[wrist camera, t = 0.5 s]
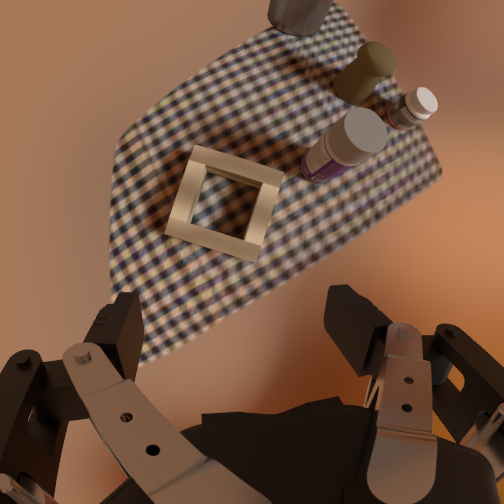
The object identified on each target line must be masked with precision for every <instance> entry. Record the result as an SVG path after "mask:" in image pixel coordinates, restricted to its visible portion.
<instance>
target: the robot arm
mask: <svg viewBox="0 0 504 504" xmlns="http://www.w3.org/2000/svg"><path fill="white" fill-rule="evenodd" d="M333 1H334V0H270V5H269V10H268V20H269V21H270V23H271V24H272V25H273V26H274V27H275V28H277V29H278V30H280V31H282V32H284V33H287V34H290V35H295V36H309V35H312V34H315V33H316V32H318V30H319V29H320V27H321V25H322V23H323V21H324V19H325V17H326V15H327V13H328V11H329V9H330V7H331V5H332V3H333ZM324 327H325V329H326V331H327V333H328V334H329V335H330V337H331V338H332V339H333V341H334V342H335V344H336V345H337V347H338V348H339V349H340V351H341V352H342V354H343V355H344V356H345V358H346V359H347V361H348V362H349V364H350V365H351V366H352V368H353V369H354V371H355V372H356V374H357V375H358V377H361V376H365V375H369V374H371V376H372V377H371V379H370V382H369V386H368V390H367V394H366V398H365V402H364V406H363V407H361V406H355V405H343V403H342V402H341V400H340V398H339V397H338V396H337V397H332V398H328V399H323V400H318V401H313V402H308V403H305V404H303V405H300V406H298V407H295V408H293V409H290V410H287V411H285V412H282V413H279V414H257V413H245V412H228V413H212V414H211V413H210V414H202V424H199V425H195V426H192V427H189V428H187V429H185V430H182V431H181V432H178V431H177V430H176V429H175V428H174V427H173V426H172V424H171V423H169V421H168V420H167V419H166V418H165V417H164V416H163V415H162V414H161V413H160V412H159V411H158V410H157V409H156V408H155V407H154V405H153V404H152V403H151V402H150V401H149V400H148V399H147V398H146V396H145V395H144V394H143V393H142V392H141V391H140V389H139V388H138V387H137V386H136V385H135V384H134V382H135V377H136V372H137V367H138V363H139V358H140V354H141V350H142V345H143V341H144V325H143V319H142V313H141V306H140V299H139V295H138V293H137V292H120V293H119V294H118V296H117V298H116V300H115V302H114V304H107V305H106V306H105V307H103V308H102V309H101V310H100V311H99V313H98V315H97V316H96V319H95V320H94V322H93V325H92V326H91V328H90V330H89V331H88V333H87V335H86V337H85V339H84V341H83V343H79V344H75V345H73V346H71V347H70V348H68V349H67V350H66V351H65V353H64V354H63V359H62V360H56V361H49V362H43V361H42V359H41V356H40V354H39V353H38V352H36V351H34V350H22V351H19V352H17V353H15V354H14V355H13V356H11V357H10V358H9V360H8V361H7V363H6V365H5V366H4V368H3V370H2V372H1V373H0V504H59V503H58V502H57V501H56V500H55V499H54V494H55V487H56V480H57V473H58V468H59V463H60V458H61V453H62V448H63V444H64V439H65V435H66V431H67V427H68V422H69V421H73V420H81V419H88V418H89V419H90V421H91V422H92V424H93V426H94V428H95V429H96V431H97V433H98V434H99V436H100V437H101V439H102V441H103V442H104V444H105V445H106V447H107V448H108V450H109V451H110V453H111V454H112V456H113V457H114V459H115V460H116V462H117V463H118V465H119V466H120V467H121V469H122V470H123V472H124V473H125V475H126V476H127V477H128V478H127V479H126V480H125V481H124V482H123V483H122V484H121V485H120V486H119V487H118V488H117V489H115V490H114V491H113V492H112V493H111V494H110V495H109V496H108V497H107V498H105V499H104V500H103V501H102V502H101V503H100V504H501V501H500V498H499V495H498V491H497V486H496V483H497V482H499V481H500V480H501V479H502V478H503V477H504V367H503V366H502V365H500V364H499V363H498V362H497V361H496V360H495V359H494V358H493V357H492V356H491V355H490V354H489V353H487V352H486V351H485V350H484V349H483V348H482V347H481V346H480V345H479V344H477V343H476V342H475V341H474V340H473V339H472V338H471V337H469V336H468V335H467V334H466V333H465V332H464V331H462V330H461V329H460V328H458V327H457V326H454V325H451V324H440V325H438V326H437V328H436V330H435V333H434V335H421V333H420V331H419V330H418V329H417V328H415V327H414V326H412V325H410V324H406V323H393V322H392V321H391V320H390V319H389V318H388V317H387V316H386V315H385V314H383V313H382V312H381V311H379V309H378V308H377V307H376V306H374V304H373V303H372V302H370V301H369V300H368V299H367V298H365V297H363V296H361V295H359V294H357V293H356V292H355V291H354V290H353V289H352V288H351V287H350V286H349V285H347V284H345V285H332V286H330V288H329V290H328V295H327V301H326V307H325V313H324ZM453 365H454V366H455V367H456V368H457V369H458V370H459V371H460V372H461V373H462V374H463V376H464V379H465V383H464V387H463V389H462V390H461V392H460V391H459V390H458V389H457V388H456V387H455V386H454V384H453V383H452V382H451V381H450V380H449V379H448V378H447V376H448V375H449V372H450V370H451V368H452V366H453ZM432 409H433V411H434V412H435V413H436V415H437V416H438V417H439V419H440V420H441V422H442V423H443V424H444V426H445V427H446V429H447V430H448V431H449V433H450V434H451V435H452V437H453V438H454V440H455V441H456V443H454V442H451V441H448V440H446V439H443V438H440V437H438V436H435V435H433V433H432ZM31 411H32V413H31ZM30 413H31V416H30ZM29 416H30V418H29ZM28 419H29V421H28Z"/></svg>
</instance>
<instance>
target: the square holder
mask: <svg viewBox="0 0 504 504" xmlns="http://www.w3.org/2000/svg"><path fill="white" fill-rule="evenodd" d="M207 172H208V173H211V174H215V175H218V176H221V177H225V178H228V179H231V180H234V181H238V182H241V183H244V184H247V185H250V186H253V187H256V188H259V191H258V194H257V197H256V200H255V204H254V207H253V210H252V213H251V216H250V219H249V222H248V225H247V229H246V232H245V235H244V238H243V240H241V239H238V238H234V237H231V236H228V235H225V234H222V233H219V232H215V231H212V230H209V229H206V228H203V227H199V226H196V225H193V224H190V223H191V220H192V217H193V214H194V211H195V208H196V205H197V202H198V199H199V196H200V193H201V190H202V187H203V184H204V181H205V178H206V175H207ZM283 176H284V172H282V171H279V170H276V169H273V168H270V167H267V166H264V165H261V164H258V163H255V162H252V161H249V160H246V159H242V158H239V157H236V156H233V155H229V154H226V153H223V152H219V151H216V150H212V149H209V148H205V147H202V146H198V145H195V146H194V148H193V151H192V154H191V156H190V159H189V162H188V164H187V167H186V170H185V173H184V175H183V178H182V181H181V184H180V187H179V190H178V193H177V195H176V198H175V201H174V204H173V208H172V211H171V214H170V217H169V220H168V223H167V226H166V230H165V233H164V234H166V235H169V236H172V237H175V238H179V239H182V240H185V241H188V242H191V243H194V244H197V245H201V246H204V247H207V248H210V249H213V250H216V251H220V252H223V253H226V254H229V255H232V256H236V257H239V258H242V259H245V260H248V261H252V262H255V263H256V261H257V258H258V255H259V252H260V249H261V246H262V242H263V239H264V236H265V233H266V230H267V227H268V223H269V220H270V217H271V214H272V211H273V207H274V204H275V201H276V198H277V195H278V192H279V188H280V185H281V182H282V179H283Z"/></svg>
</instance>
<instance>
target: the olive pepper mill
mask: <svg viewBox="0 0 504 504" xmlns="http://www.w3.org/2000/svg"><path fill="white" fill-rule="evenodd" d="M395 66H396V60H395V57H394V55H393V53H392V52H391V51H390V50H389V49H388V48H387V47H386V46H384V45H383V44H381V43H378V42H367V43H365V44H363V45H362V46H361V47H360V48H359V51H358V54H357V58H356V59H355V60H354V61H353V62H351V63H350V64H349V65H348V66H347V67H346V68H345V69H343V70H342V71H341V72H340V73H339V74H338V75H337V76H336V77H335V78H334V80H333V88H334V90H335V92H336V94H337V95H338V96H339V97H340V98H341V99H342V100H343V101H345V102H347V103H349V104H353V105H360V104H363V103H364V102H365V101H366V100H367V99H368V97H369V96H370V94H371V93H372V91H373V90H374V88H375V87H376V85H377V84H378V82H379V81H380V79H381V78H382V77H385V76H387V75H390V74H391V73H392V72H393V70H394V69H395Z"/></svg>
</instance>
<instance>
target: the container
mask: <svg viewBox="0 0 504 504" xmlns="http://www.w3.org/2000/svg"><path fill="white" fill-rule="evenodd" d="M386 142H387V129H386V126H385V124H384V122H383V121H382V119H381V118H380V117H379V116H378V115H377V114H376V113H375V112H373V111H372V110H370V109H367V108H363V107H357V108H353V109H351V110H350V111H349V112H347V113H346V114H345V115H344V116H343V117H342V118H341V119H340V120H339V121H338V122H337V123H335V124H334V125H333V126H332V127H331V128H330V129H329V130H328V131H327V132H326V133H325V134H324V135H323V136H322V137H321V138H320V139H319V140H318V142H317V143H316V144H315V145H314V146H313V147H312V148H311V149H310V150H309V151H308V152H307V153H306V154H305V155H304V157H303V158H302V161H301V170H302V173H303V175H304V176H305V177H306V178H307V179H308V180H309V181H311V182H313V183H317V184H320V183H325V182H327V181H329V180H330V179H332V178H334V177H336V176H338V175H339V174H341V173H343V172H345V171H347V170H348V169H350V168H352V167H354V166H356V165H358V164H359V163H361V162H362V161H364V160H365V159H367V158H369V157H370V156H372V155H374V154H375V153H377V152H378V151H380V150H382V149H383V148H384V146H385V145H386Z"/></svg>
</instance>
